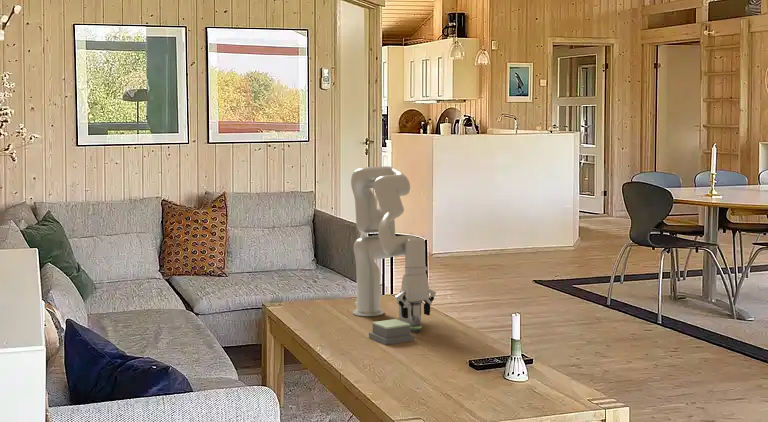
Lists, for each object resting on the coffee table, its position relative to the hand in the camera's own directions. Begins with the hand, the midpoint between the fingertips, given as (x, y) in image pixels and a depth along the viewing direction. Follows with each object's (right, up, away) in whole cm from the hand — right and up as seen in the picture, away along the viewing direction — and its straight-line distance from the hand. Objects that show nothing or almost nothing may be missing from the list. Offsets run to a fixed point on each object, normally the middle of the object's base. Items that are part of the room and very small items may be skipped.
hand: (416, 316), depth 365 cm
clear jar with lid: (0, -6, +1) cm, 6 cm away
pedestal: (-9, -7, -11) cm, 16 cm away
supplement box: (-2, -5, +13) cm, 14 cm away
